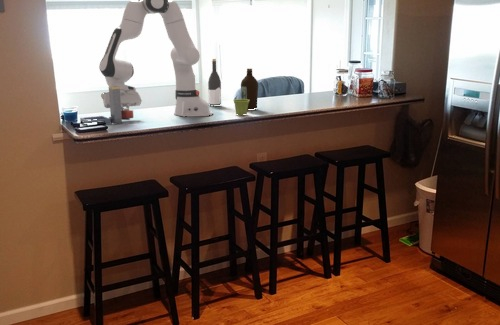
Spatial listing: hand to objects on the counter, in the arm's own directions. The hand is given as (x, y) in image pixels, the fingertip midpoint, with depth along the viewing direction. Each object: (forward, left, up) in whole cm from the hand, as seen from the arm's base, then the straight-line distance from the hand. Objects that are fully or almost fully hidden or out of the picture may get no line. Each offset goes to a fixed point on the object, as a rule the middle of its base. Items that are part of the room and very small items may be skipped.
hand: (126, 112), depth 261 cm
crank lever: (+3, +2, -4) cm, 5 cm away
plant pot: (-61, -20, -5) cm, 65 cm away
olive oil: (-66, -41, -5) cm, 78 cm away
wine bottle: (-44, -58, -5) cm, 73 cm away
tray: (+15, +6, -5) cm, 17 cm away
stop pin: (+4, +7, -5) cm, 9 cm away
